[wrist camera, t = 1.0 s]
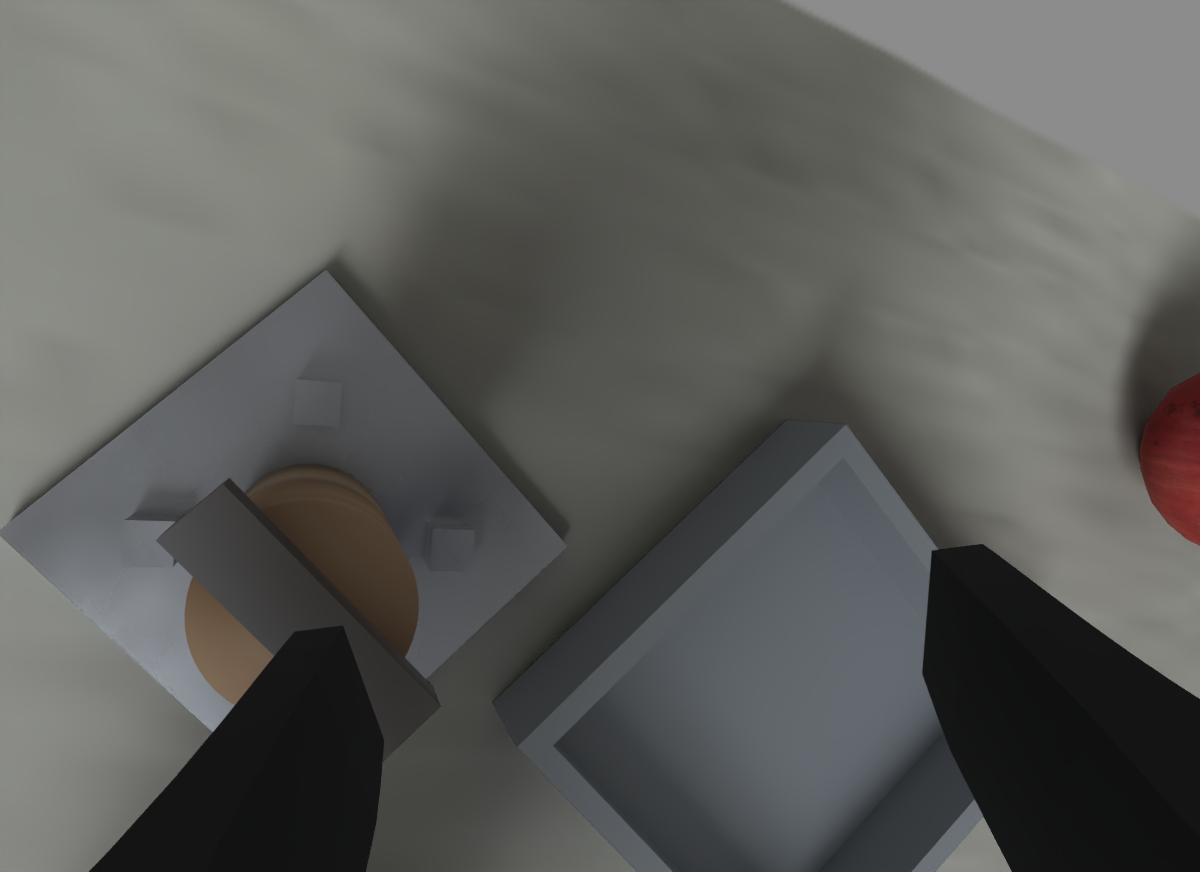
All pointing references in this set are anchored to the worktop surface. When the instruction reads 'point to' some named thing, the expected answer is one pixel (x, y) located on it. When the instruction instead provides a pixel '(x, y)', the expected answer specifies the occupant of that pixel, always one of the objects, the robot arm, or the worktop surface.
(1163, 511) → the onion
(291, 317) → the plate
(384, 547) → the brown wooden cylinder
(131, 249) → the worktop surface
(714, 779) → the bin
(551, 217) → the worktop surface
